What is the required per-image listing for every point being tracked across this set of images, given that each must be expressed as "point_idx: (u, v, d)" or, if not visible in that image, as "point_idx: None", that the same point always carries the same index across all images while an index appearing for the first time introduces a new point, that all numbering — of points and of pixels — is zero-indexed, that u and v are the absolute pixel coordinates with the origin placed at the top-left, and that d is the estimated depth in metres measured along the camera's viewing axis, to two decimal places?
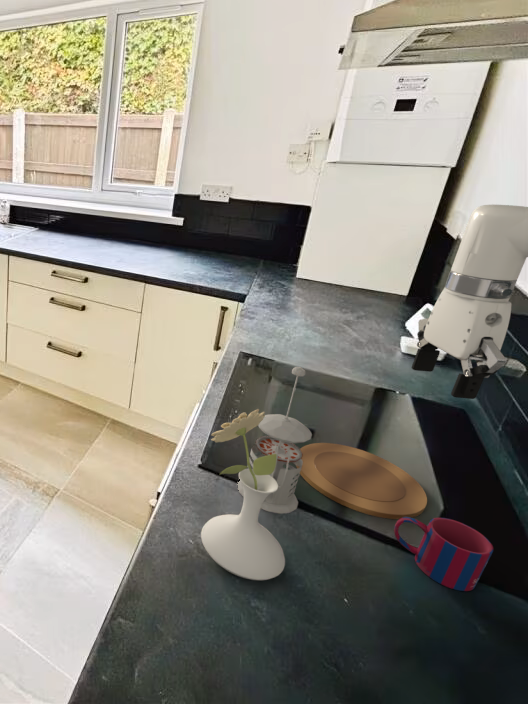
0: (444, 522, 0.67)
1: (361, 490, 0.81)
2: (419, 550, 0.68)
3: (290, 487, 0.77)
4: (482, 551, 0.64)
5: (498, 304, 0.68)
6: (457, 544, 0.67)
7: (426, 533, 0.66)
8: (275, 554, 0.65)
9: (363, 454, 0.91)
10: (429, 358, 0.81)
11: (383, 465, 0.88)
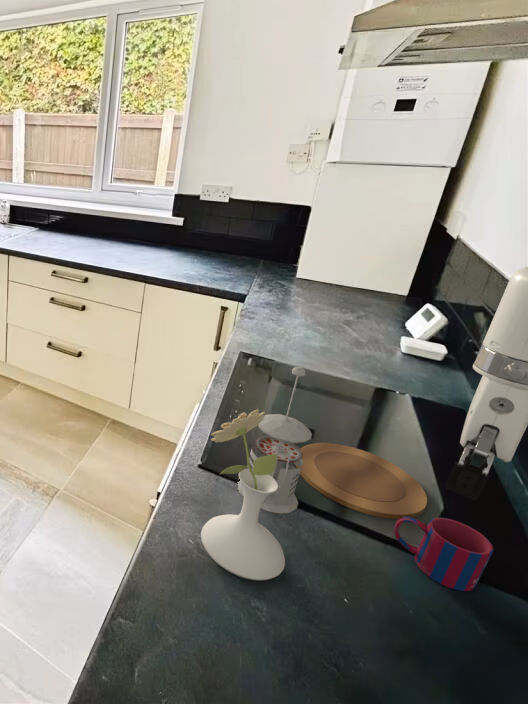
0: (444, 522, 0.67)
1: (361, 490, 0.81)
2: (419, 550, 0.68)
3: (290, 487, 0.77)
4: (482, 551, 0.64)
5: (510, 388, 0.55)
6: (457, 544, 0.67)
7: (426, 533, 0.66)
8: (275, 554, 0.65)
9: (363, 454, 0.91)
10: None
11: (383, 465, 0.88)
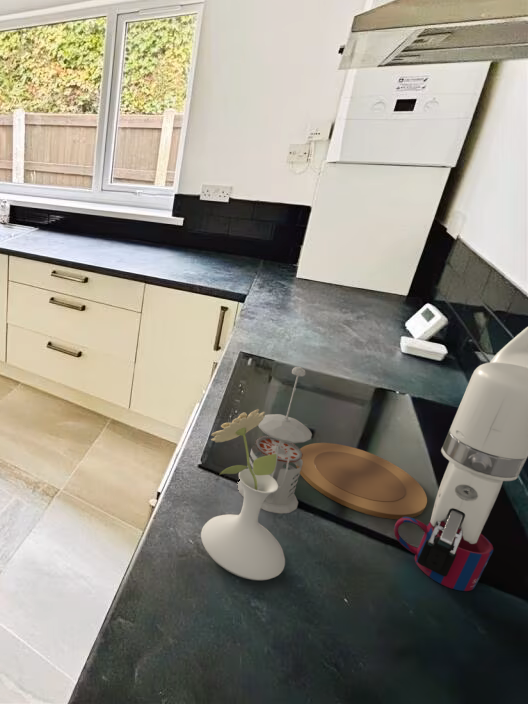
0: (444, 522, 0.67)
1: (361, 490, 0.81)
2: (419, 550, 0.68)
3: (290, 487, 0.77)
4: (482, 551, 0.64)
5: (474, 477, 0.59)
6: None
7: (426, 533, 0.67)
8: (275, 554, 0.65)
9: (363, 454, 0.91)
10: None
11: (383, 465, 0.88)
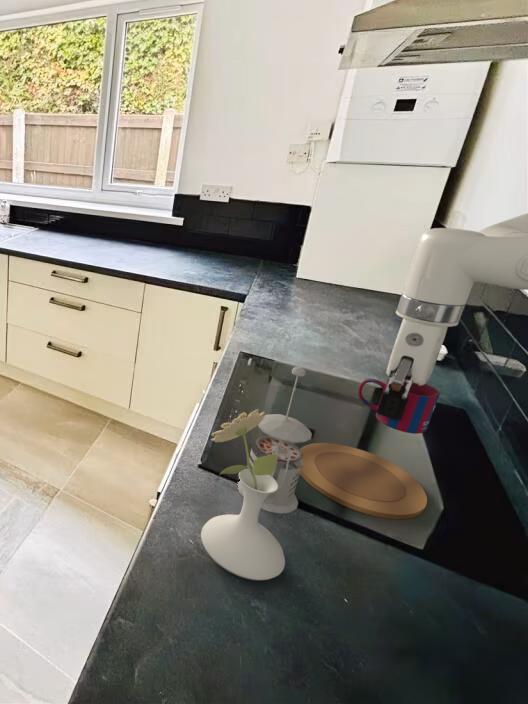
0: None
1: (361, 490, 0.81)
2: None
3: (290, 487, 0.77)
4: None
5: (420, 325, 0.69)
6: None
7: (384, 389, 0.77)
8: (275, 554, 0.65)
9: (363, 454, 0.91)
10: None
11: (383, 465, 0.88)
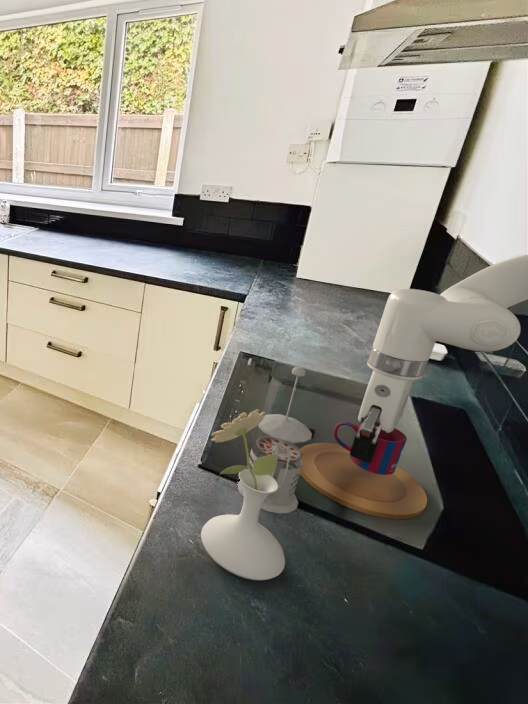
0: None
1: (361, 490, 0.81)
2: None
3: (290, 487, 0.77)
4: None
5: (387, 378, 0.75)
6: None
7: (357, 432, 0.83)
8: (275, 554, 0.65)
9: None
10: None
11: None
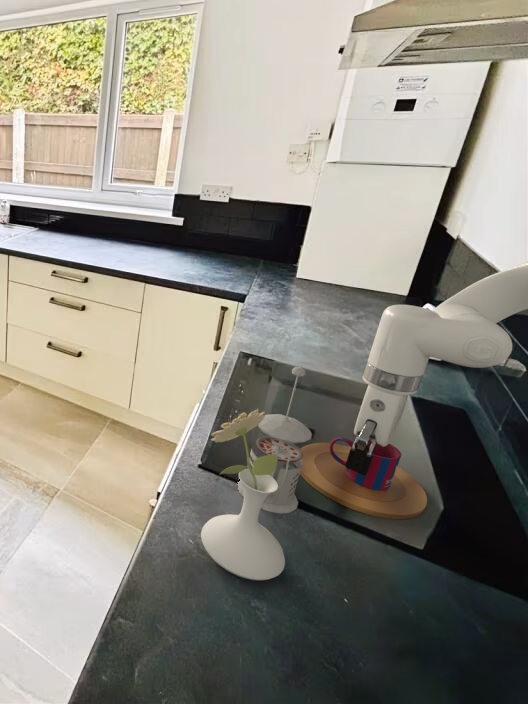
0: None
1: (361, 490, 0.81)
2: None
3: (290, 487, 0.77)
4: None
5: (382, 393, 0.76)
6: None
7: None
8: (275, 554, 0.65)
9: None
10: None
11: None
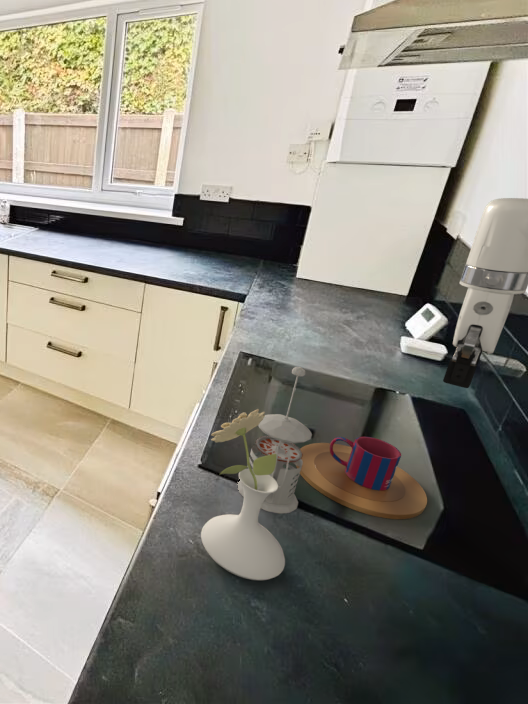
0: (367, 440, 0.85)
1: (361, 490, 0.81)
2: (348, 462, 0.85)
3: (290, 487, 0.77)
4: None
5: (489, 293, 0.70)
6: None
7: (352, 448, 0.84)
8: (275, 554, 0.65)
9: None
10: None
11: None
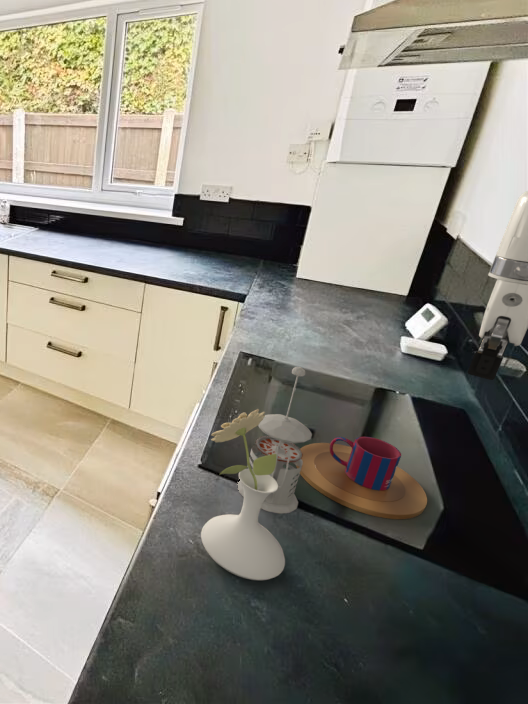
0: (367, 440, 0.85)
1: (361, 490, 0.81)
2: (348, 462, 0.85)
3: (290, 487, 0.77)
4: None
5: (519, 285, 0.70)
6: None
7: (352, 448, 0.84)
8: (275, 554, 0.65)
9: None
10: None
11: None
